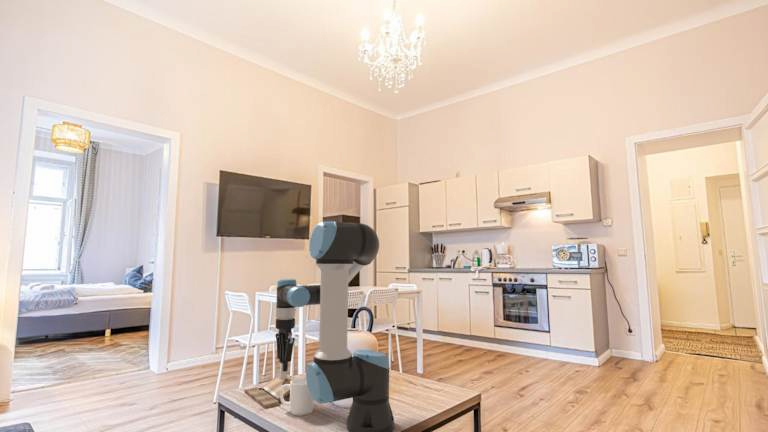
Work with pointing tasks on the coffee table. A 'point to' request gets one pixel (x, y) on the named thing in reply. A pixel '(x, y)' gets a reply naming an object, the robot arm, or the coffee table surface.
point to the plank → (277, 386)
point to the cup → (298, 397)
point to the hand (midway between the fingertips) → (283, 378)
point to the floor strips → (261, 397)
